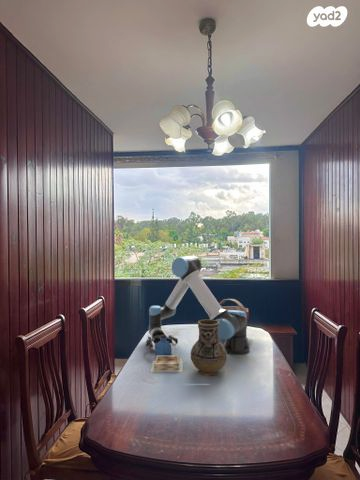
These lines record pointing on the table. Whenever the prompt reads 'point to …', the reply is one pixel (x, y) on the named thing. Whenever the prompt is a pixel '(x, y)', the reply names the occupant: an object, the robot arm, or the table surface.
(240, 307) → the bucket
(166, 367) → the oak box
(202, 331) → the decorative pitcher
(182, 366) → the felt mat
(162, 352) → the perfume bottle
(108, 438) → the table surface
